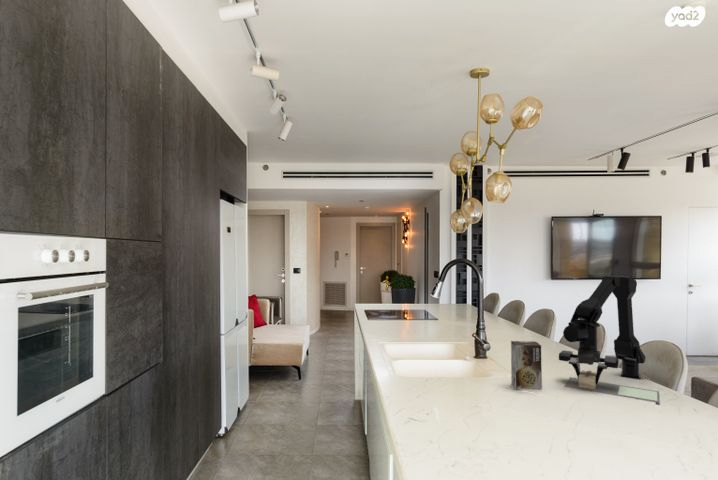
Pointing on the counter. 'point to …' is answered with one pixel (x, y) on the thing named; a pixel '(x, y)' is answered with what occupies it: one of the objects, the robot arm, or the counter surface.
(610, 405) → the counter surface
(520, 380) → the coffee box
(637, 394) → the mat
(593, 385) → the taped cardboard box
